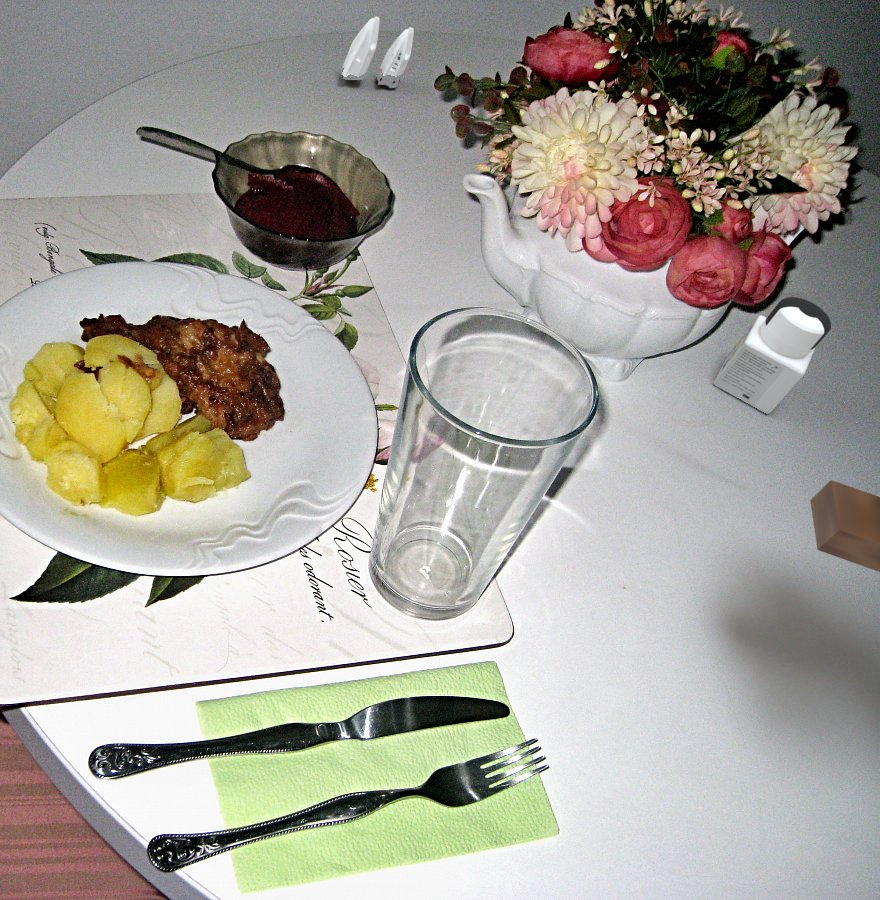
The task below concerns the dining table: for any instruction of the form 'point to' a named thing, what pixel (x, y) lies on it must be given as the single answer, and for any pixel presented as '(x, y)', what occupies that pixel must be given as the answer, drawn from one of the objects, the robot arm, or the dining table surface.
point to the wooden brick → (847, 524)
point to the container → (774, 353)
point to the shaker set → (366, 47)
